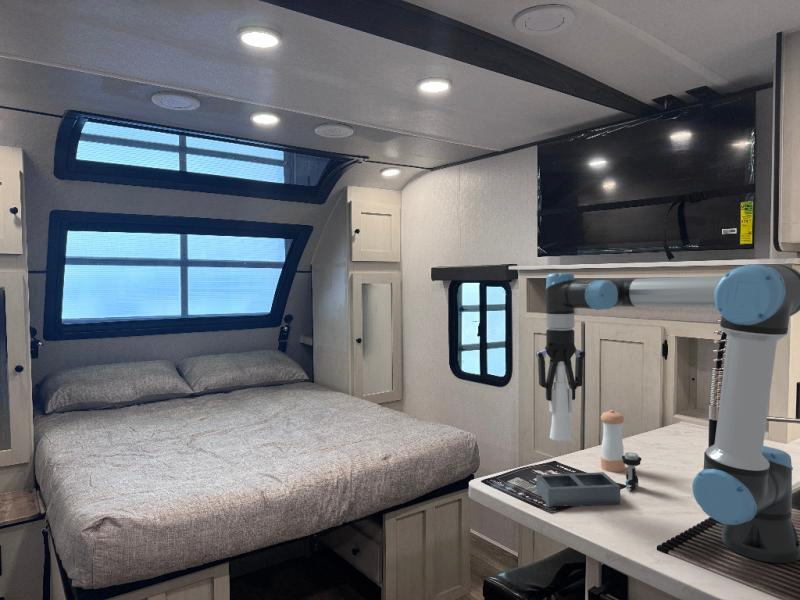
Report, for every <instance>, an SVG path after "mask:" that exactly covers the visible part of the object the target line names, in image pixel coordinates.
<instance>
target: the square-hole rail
mask: <svg viewBox="0 0 800 600" xmlns="http://www.w3.org/2000/svg"><path fill="white" fill-rule="evenodd" d="M535 478H536V493H537V492H538V493H539V494H538V493H537V494H538V496H541V497H542V498H541V497H540V498H541V499H542V500H544V501H545V502H546V503H545V502H544V501H543V502H544V503H545V505H546V504H547V505H548V506H547V505H546V506H547V507H548V508H554V507H553V506H562V505H570V506H572V507H592V506H593V507H594V506H614V505H615V506H616V505H621V485H619V484H618V483H617V482H616V481H615V480H613V479H612V478H611V477H610V476H609V475H608V474H606V473H605V472H604V471H603V472H601V471H600V472H598V471H597V472H577V473H576V472H575V473H574V472H573V473H553V474H552V473H550V474H536V477H535Z"/></svg>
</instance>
